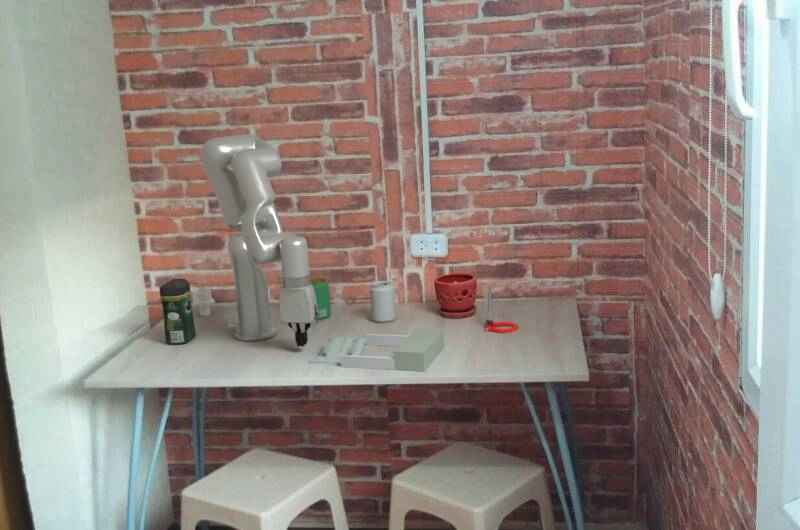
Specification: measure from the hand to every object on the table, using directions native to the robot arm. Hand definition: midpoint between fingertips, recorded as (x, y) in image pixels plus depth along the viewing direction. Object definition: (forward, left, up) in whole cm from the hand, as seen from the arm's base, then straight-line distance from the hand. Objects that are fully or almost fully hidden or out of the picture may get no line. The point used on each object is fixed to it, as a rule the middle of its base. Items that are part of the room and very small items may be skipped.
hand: (301, 344), depth 254 cm
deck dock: (+27, 0, -2) cm, 27 cm away
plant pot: (+34, +42, -2) cm, 54 cm away
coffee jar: (-42, +5, -2) cm, 42 cm away
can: (+13, +33, -2) cm, 36 cm away
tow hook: (+51, +29, -3) cm, 59 cm away
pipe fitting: (-49, +32, -2) cm, 59 cm away
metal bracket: (+12, -1, -3) cm, 13 cm away
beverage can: (-9, +33, -2) cm, 34 cm away
